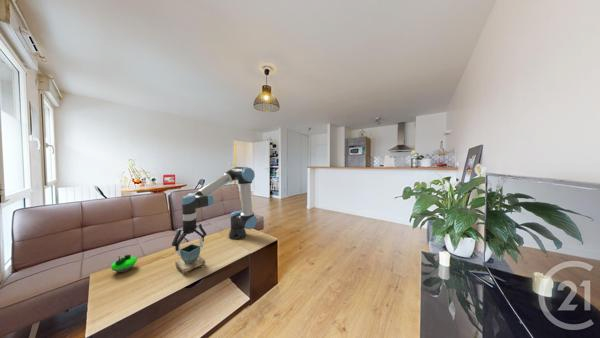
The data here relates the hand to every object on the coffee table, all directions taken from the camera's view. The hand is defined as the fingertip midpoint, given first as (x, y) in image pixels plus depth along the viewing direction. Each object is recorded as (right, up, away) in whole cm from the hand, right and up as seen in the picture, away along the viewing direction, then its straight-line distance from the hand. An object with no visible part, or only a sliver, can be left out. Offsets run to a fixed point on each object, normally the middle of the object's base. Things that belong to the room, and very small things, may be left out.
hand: (190, 250), depth 118 cm
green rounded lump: (-40, -11, -3) cm, 42 cm away
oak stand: (0, -11, 0) cm, 11 cm away
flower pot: (0, -7, 0) cm, 7 cm away
